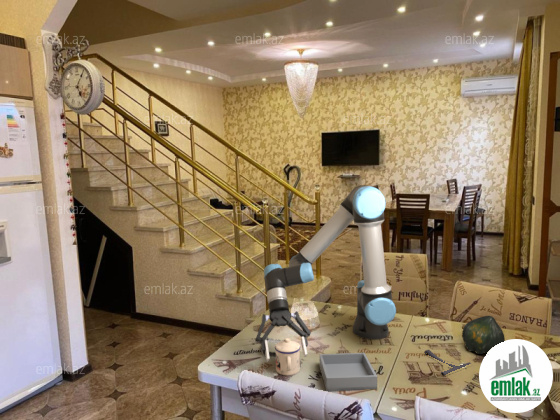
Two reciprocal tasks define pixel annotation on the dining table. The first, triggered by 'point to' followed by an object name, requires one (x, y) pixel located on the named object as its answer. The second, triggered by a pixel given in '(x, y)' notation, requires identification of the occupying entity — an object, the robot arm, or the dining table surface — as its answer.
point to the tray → (347, 372)
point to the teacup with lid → (287, 357)
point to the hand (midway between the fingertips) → (287, 358)
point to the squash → (482, 334)
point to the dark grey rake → (446, 363)
